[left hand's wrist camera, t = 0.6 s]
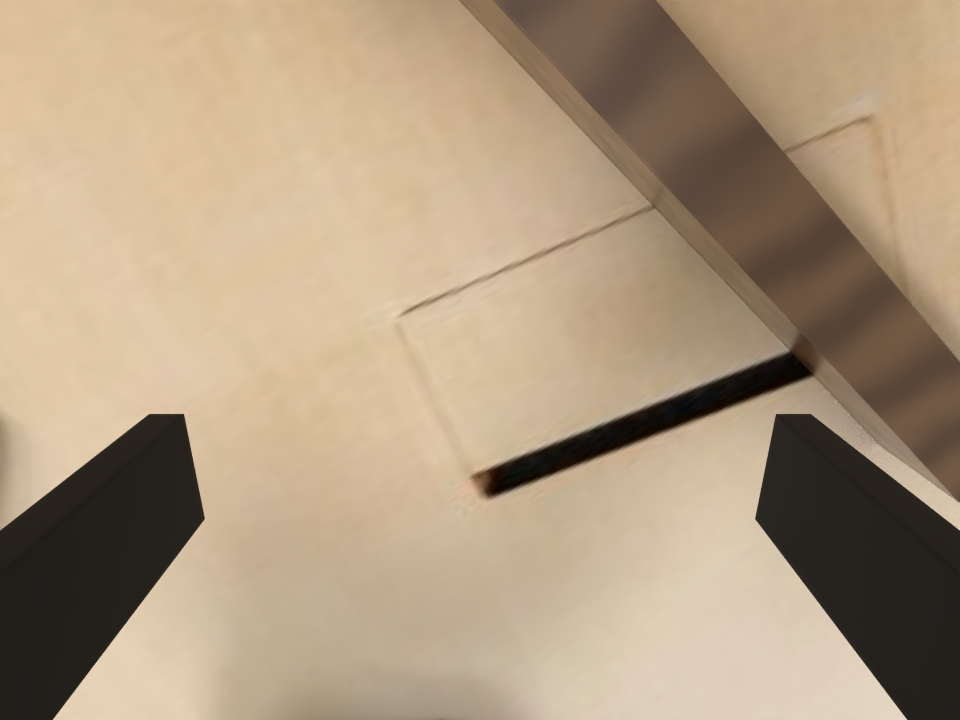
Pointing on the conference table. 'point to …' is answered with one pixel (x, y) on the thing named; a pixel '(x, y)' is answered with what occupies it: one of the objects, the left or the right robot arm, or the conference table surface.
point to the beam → (743, 212)
